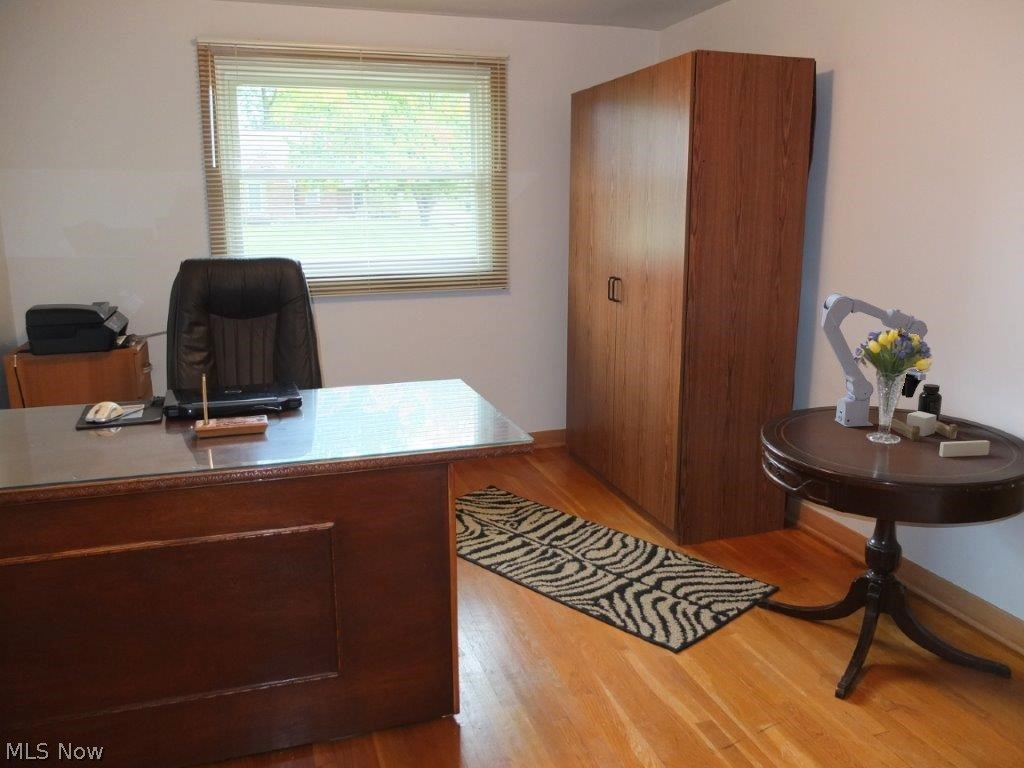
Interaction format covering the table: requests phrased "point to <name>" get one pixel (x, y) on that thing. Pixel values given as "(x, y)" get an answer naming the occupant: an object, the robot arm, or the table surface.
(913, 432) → the chute
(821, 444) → the table surface
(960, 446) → the board
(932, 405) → the supplement bottle
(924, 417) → the beige cube
